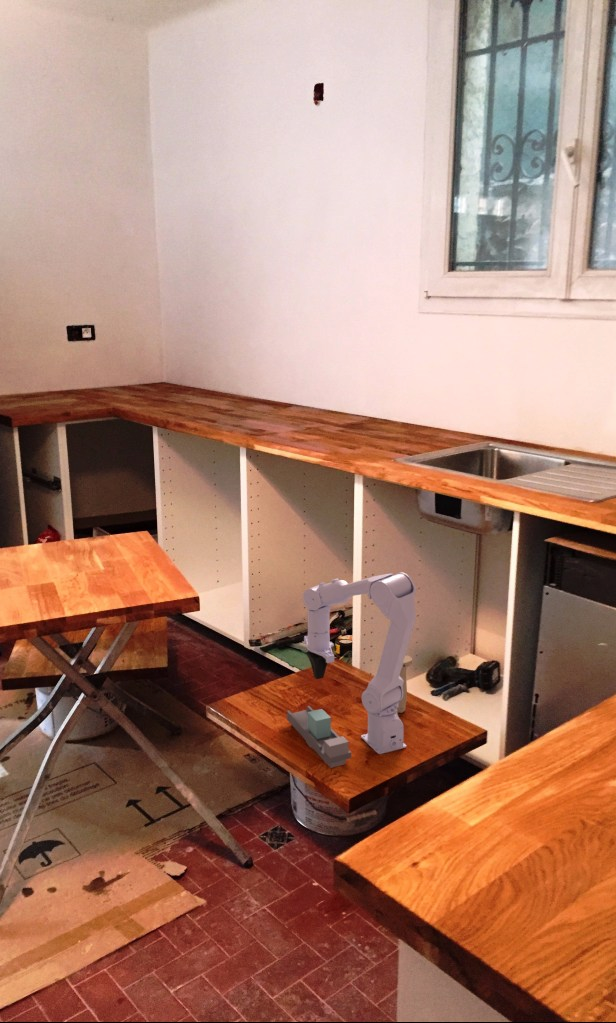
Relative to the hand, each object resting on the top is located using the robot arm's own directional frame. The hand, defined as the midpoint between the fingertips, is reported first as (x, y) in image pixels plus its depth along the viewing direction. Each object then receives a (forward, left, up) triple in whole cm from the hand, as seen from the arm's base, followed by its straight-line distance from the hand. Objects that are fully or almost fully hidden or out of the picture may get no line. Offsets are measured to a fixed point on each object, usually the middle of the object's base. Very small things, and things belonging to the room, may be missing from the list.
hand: (318, 677), depth 226 cm
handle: (-8, -20, -11) cm, 24 cm away
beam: (-14, +7, -10) cm, 19 cm away
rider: (-15, +7, -7) cm, 18 cm away
